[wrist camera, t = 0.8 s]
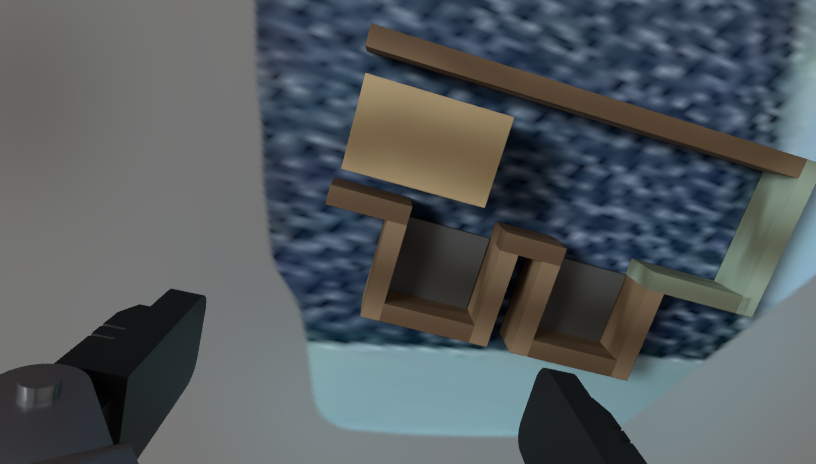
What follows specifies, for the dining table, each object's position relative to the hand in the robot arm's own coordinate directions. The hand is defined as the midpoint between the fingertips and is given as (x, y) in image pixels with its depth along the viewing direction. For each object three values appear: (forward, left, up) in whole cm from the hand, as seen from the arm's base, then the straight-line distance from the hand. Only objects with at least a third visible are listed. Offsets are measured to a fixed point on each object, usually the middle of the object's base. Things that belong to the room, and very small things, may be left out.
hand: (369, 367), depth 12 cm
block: (-4, +2, -22) cm, 23 cm away
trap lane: (-1, +11, -22) cm, 25 cm away
